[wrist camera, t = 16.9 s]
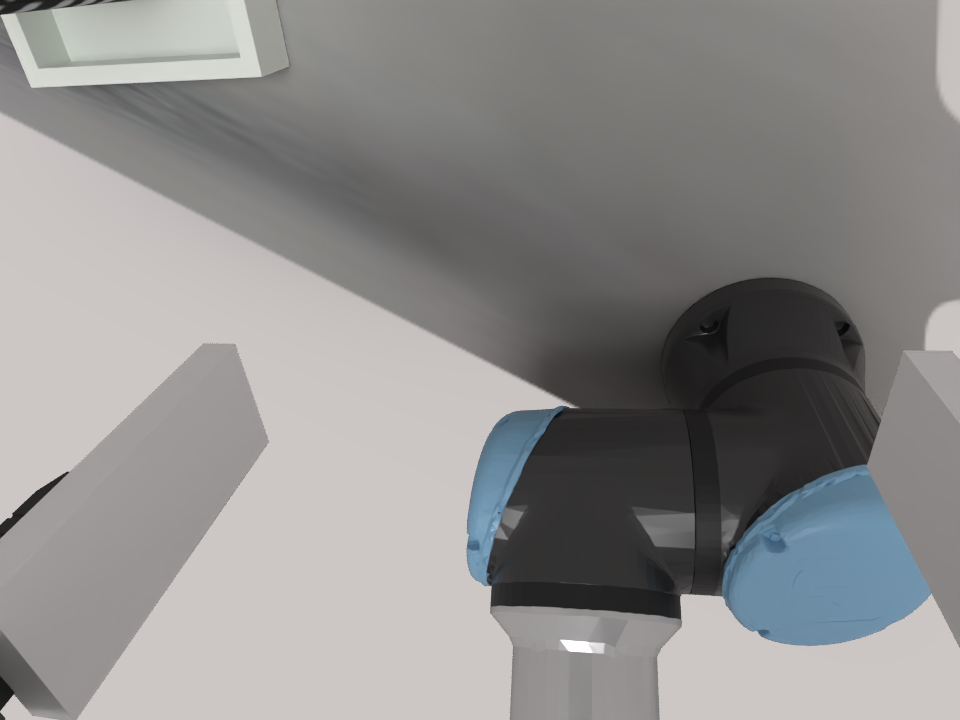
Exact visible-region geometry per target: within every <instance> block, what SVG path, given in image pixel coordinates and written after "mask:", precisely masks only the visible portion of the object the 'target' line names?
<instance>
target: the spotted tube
mask: <svg viewBox="0 0 960 720" xmlns="http://www.w3.org/2000/svg"><path fill="white" fill-rule="evenodd" d="M122 1H131V0H0V15H4V14H13V13H22V12H31V11H40V10H49V9H58V8H67V7H76V6H86V5H95V4H104V3H113V2H122Z"/></svg>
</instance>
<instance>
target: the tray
mask: <svg viewBox="0 0 960 720" xmlns="http://www.w3.org/2000/svg"><path fill="white" fill-rule="evenodd" d="M1 17H2V20H3V22H4V24H5V27H6V29H7V31H8V34H9V36H10V38H11V41H12V43H13V45H14V48H15V50H16V53H17V55H18V57H19V60H20V62H21V64H22V67H23V69H24V71H25V74H26V76H27V78H28V81H29V83H30V86H31V88H36V87H57V86H78V85H100V84H121V83H142V82H163V81H185V80H206V79H227V78H248V77H263V76H266V75H268V74H271V73H274V72H276V71H279V70H282V69H284V68H287V67H290V65H289V60H288V55H287V50H286V46H285V41H284V36H283V31H282V27H281V22H280V17H279V12H278V8H277V3H276V0H131V1H122V2H113V3H104V4H95V5H86V6H76V7H67V8H58V9H49V10H40V11H31V12H22V13H13V14H4V15H1Z"/></svg>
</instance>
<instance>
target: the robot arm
mask: <svg viewBox="0 0 960 720" xmlns="http://www.w3.org/2000/svg"><path fill="white" fill-rule="evenodd" d="M662 372H663V379H664V386H665V390H666V394H667V397H668V399H669V401H670V403H671V405H672V407H673V409H579V408H569V407H566V406H559V407H557V408H555V409H545V410H527V411H516V412H512V413H510V414H508V415H506V416H504V417H503V418H502V419H500V420H499V422H498V423H497V424H496V425H495V426H494V428H493V430H492V431H491V433H490V434H489V436H488V438H487V440H486V442H485V445H484V447H483V450H482V452H481V455H480V459H479V462H478V466H477V469H476V473H475V477H474V482H473V487H472V492H471V498H470V505H469V512H468V520H467V533H468V534H469V538H468V544H467V562H468V568H469V571H470V574H471V575H472V577H473V578H474V579H475V580H476V581H479V582H481V583H482V584H483V585H484V586H492V591H491V608H490V613H491V614H492V615H493V617H494V618H495V619H496V620H497V622H498V623H499V624H500V625H501V627H502V628H503V629H504V631H505V632H506V633H507V634H508V636H509V637H510V640H511V642H512V644H513V662H512V684H511V686H512V687H511V707H510V720H659V695H658V674H657V673H658V671H657V656H658V654H659V652H660V650H661V648H662V647H663V646H664V645H665V643H666V642H667V641H668V640H669V639H670V638H671V637H672V636H673V635H674V634H675V633H676V632H677V631H678V630H679V629H680V628H681V624H682V621H681V606H680V596H681V594H695V595H711V596H723V598H724V599H725V603H726V606H727V607H728V608H729V610H730V611H731V612H732V613H733V615H734V616H735V618H736V619H737V620H738V621H739V622H740V623H741V624H742V625H743V626H744V627H745V628H747V629H748V630H750V631H758V633H759V634H760V636H761V637H764V638H766V639H768V640H771V641H775V642H779V643H784V644H791V645H807V646H812V645H814V646H815V645H828V644H836V643H842V642H846V641H851V640H855V639H858V638H862V637H865V636H868V635H871V634H873V633H876V632H879V631H881V630H883V629H885V628H886V627H887V626H889V625H890V624H892V623H894V622H896V621H899V620H901V619H903V618H905V617H906V616H908V615H909V614H910V613H912V612H913V611H914V610H916V609H917V608H918V607H919V606H920V605H921V604H922V603H923V602H924V601H925V600H926V599H927V598H928V597H929V596H930V595H931V593H932V595H933V597H934V599H935V601H936V602H937V604H938V606H939V608H940V610H941V612H942V614H943V616H944V618H945V620H946V622H947V624H948V626H949V628H950V630H951V631H952V633H953V635H954V637H955V639H956V641H957V643H958V645H959V647H960V360H959V358H958V357H957V356H956V355H955V354H954V353H953V352H952V351H907V350H904V351H903V354H902V357H901V360H900V363H899V366H898V369H897V373H896V376H895V379H894V382H893V385H892V388H891V391H890V395H889V398H888V401H887V404H886V407H885V410H884V413H883V417H882V420H881V419H880V418H879V416H878V414H877V413H876V411H875V409H874V408H873V406H872V404H871V403H870V401H869V399H868V398H867V396H866V395H865V351H864V346H863V343H862V339H861V337H860V334H859V332H858V330H857V328H856V326H855V325H854V323H853V322H852V320H851V319H850V317H849V316H848V314H847V313H846V311H845V310H844V309H843V307H842V306H841V305H840V304H839V303H838V302H837V301H836V300H835V299H833V298H832V297H831V296H829V295H828V294H826V293H825V292H823V291H821V290H819V289H818V288H815V287H813V286H811V285H808V284H805V283H801V282H798V281H793V280H787V279H756V280H749V281H744V282H740V283H736V284H733V285H730V286H727V287H724V288H722V289H720V290H717V291H715V292H713V293H711V294H710V295H708V296H706V297H705V298H703V299H701V300H700V301H699V302H697V303H696V304H694V305H693V306H692V307H691V308H690V309H689V310H688V311H687V312H686V313H684V315H683V316H682V317H681V318H680V319H679V320H678V322H677V323H676V324H675V326H674V327H673V329H672V330H671V332H670V334H669V336H668V338H667V341H666V343H665V346H664V350H663V356H662ZM268 443H269V440H268V437H267V434H266V432H265V429H264V426H263V423H262V420H261V417H260V414H259V411H258V409H257V406H256V403H255V400H254V397H253V394H252V391H251V388H250V385H249V383H248V379H247V377H246V374H245V371H244V368H243V365H242V362H241V359H240V356H239V353H238V351H237V348H236V345H235V344H203V345H202V346H201V347H200V348H198V349H197V350H196V351H195V352H194V353H193V354H192V355H191V356H190V357H189V358H188V359H187V360H186V361H185V362H184V363H183V364H182V365H181V366H180V367H179V368H178V369H177V370H176V371H175V372H173V374H172V375H170V376H169V377H168V378H167V379H166V380H165V381H164V382H163V383H162V384H161V385H160V386H159V387H158V388H157V389H156V390H155V391H154V392H153V393H152V394H151V395H149V396H148V397H147V398H146V399H145V400H144V401H143V402H142V403H141V404H140V405H139V406H138V407H137V408H136V409H135V410H134V411H133V412H132V413H131V414H130V415H129V416H128V417H127V418H126V419H124V420H123V422H121V423H120V424H119V425H118V426H117V427H116V428H115V429H114V430H113V431H112V432H111V433H110V434H109V435H108V436H107V437H106V438H105V439H104V440H103V441H102V442H101V443H99V444H98V445H97V446H96V448H94V449H93V450H92V451H91V452H90V453H89V454H88V455H87V456H86V457H85V458H84V459H83V460H82V461H81V462H80V463H79V464H78V465H77V466H76V467H75V468H74V469H73V470H71V471H70V472H66V473H64V474H63V475H61V476H60V477H58V478H56V479H55V480H53V481H52V482H50V483H48V484H47V485H45V486H44V487H42V488H40V489H39V490H37V491H36V492H35V493H34V494H33V495H32V496H31V497H30V498H28V499H27V500H26V501H25V502H24V503H23V504H22V505H21V506H20V507H19V508H18V509H17V510H16V511H15V512H14V513H13V516H12V518H7V519H6V520H5V521H4V522H3V523H2V524H1V525H0V711H1V709H2V708H3V707H4V706H5V704H6V703H7V702H8V701H9V699H10V698H11V697H12V696H13V694H14V695H15V696H16V697H17V698H18V699H19V701H20V702H21V703H22V704H23V705H24V706H25V708H26V709H27V710H28V711H29V712H30V713H31V714H32V716H39V717H46V718H53V719H59V720H77V718H78V717H79V715H80V714H81V712H82V711H83V709H84V708H85V707H86V705H87V704H88V702H89V701H90V699H91V698H92V696H93V695H94V694H95V692H96V691H97V689H98V688H99V686H100V685H101V684H102V682H103V681H104V679H105V678H106V676H107V675H108V673H109V672H110V671H111V669H112V668H113V666H114V665H115V663H116V662H117V660H118V659H119V658H120V656H121V655H122V653H123V651H124V650H125V649H126V647H127V646H128V644H129V643H130V642H131V640H132V639H133V637H134V636H135V634H136V633H137V632H138V630H139V629H140V627H141V626H142V624H143V623H144V622H145V620H146V619H147V617H148V616H149V614H150V613H151V611H152V610H153V608H154V607H155V606H156V604H157V603H158V601H159V600H160V598H161V597H162V595H163V594H164V593H165V591H166V590H167V588H168V587H169V585H170V584H171V583H172V581H173V580H174V578H175V577H176V575H177V574H178V572H179V571H180V569H181V568H182V567H183V565H184V564H185V562H186V561H187V560H188V558H189V556H190V555H191V554H192V552H193V551H194V549H195V548H196V546H197V545H198V544H199V542H200V541H201V539H202V538H203V536H204V535H205V534H206V532H207V531H208V529H209V528H210V526H211V525H212V523H213V522H214V521H215V519H216V518H217V516H218V515H219V513H220V512H221V510H222V509H223V507H224V506H225V505H226V503H227V502H228V500H229V499H230V497H231V496H232V495H233V493H234V492H235V490H236V489H237V487H238V486H239V485H240V483H241V482H242V480H243V479H244V477H245V476H246V474H247V473H248V472H249V470H250V469H251V467H252V465H253V464H254V463H255V461H256V460H257V459H258V457H259V456H260V454H261V453H262V451H263V450H264V448H265V447H266V446H267V444H268ZM0 720H5V717H4V716H3V715H2V714H1V713H0Z"/></svg>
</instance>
